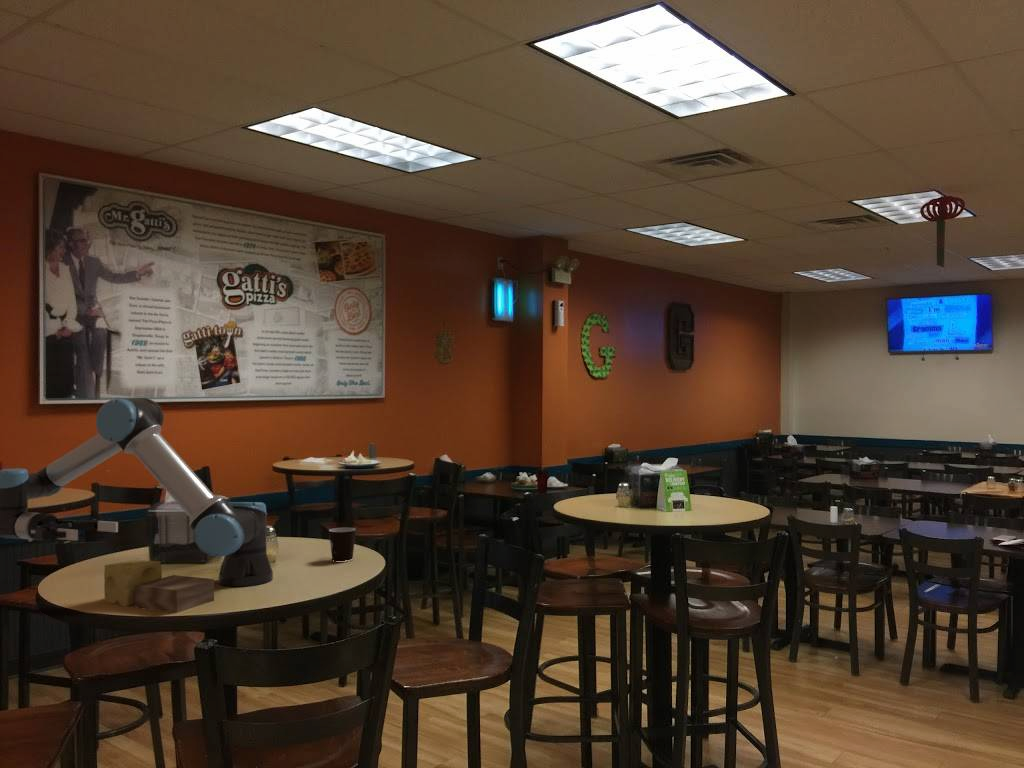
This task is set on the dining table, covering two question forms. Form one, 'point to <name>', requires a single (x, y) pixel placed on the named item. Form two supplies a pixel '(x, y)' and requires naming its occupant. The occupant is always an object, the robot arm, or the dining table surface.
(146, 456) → the robot arm
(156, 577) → the cheese
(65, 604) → the dining table surface
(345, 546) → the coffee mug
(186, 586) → the walnut block
